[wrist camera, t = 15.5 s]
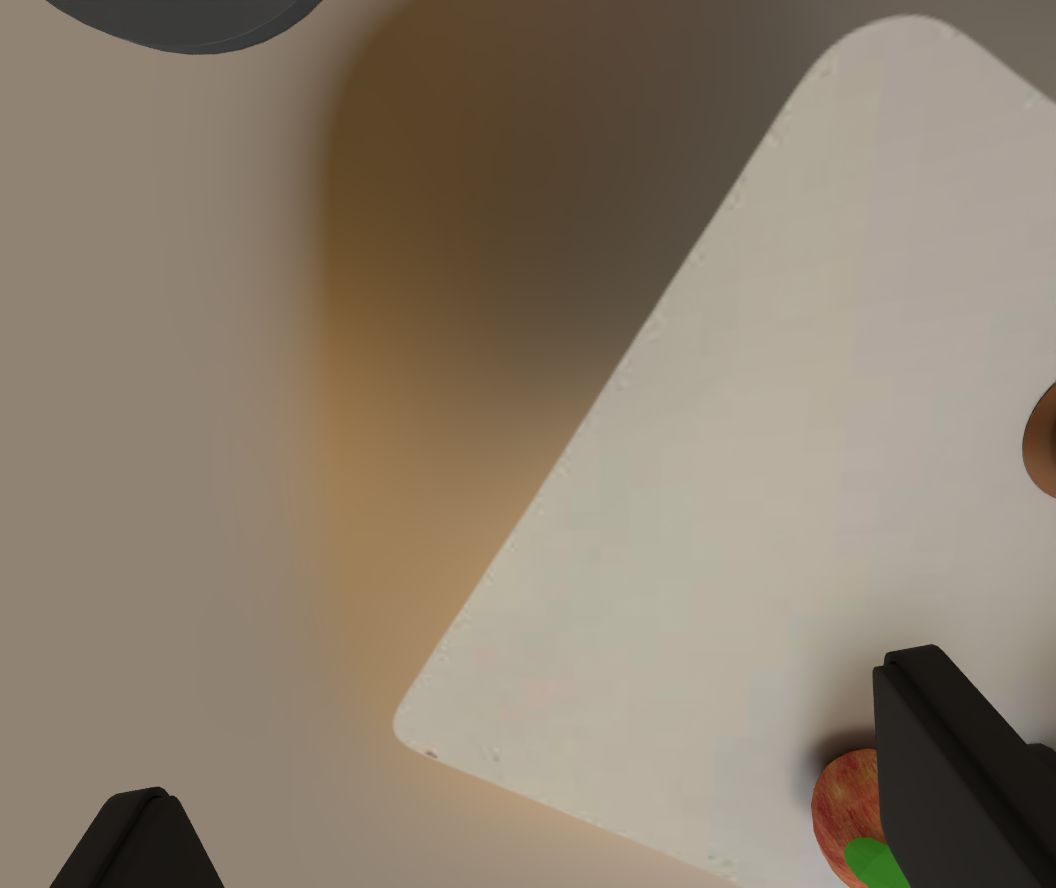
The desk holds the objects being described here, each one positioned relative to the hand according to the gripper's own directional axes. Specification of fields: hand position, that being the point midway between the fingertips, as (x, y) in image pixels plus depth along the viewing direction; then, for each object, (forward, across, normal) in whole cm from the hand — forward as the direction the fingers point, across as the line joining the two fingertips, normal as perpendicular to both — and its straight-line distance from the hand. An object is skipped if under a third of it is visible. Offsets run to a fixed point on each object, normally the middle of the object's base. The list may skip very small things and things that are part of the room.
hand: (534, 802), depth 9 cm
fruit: (+31, -16, +35) cm, 49 cm away
